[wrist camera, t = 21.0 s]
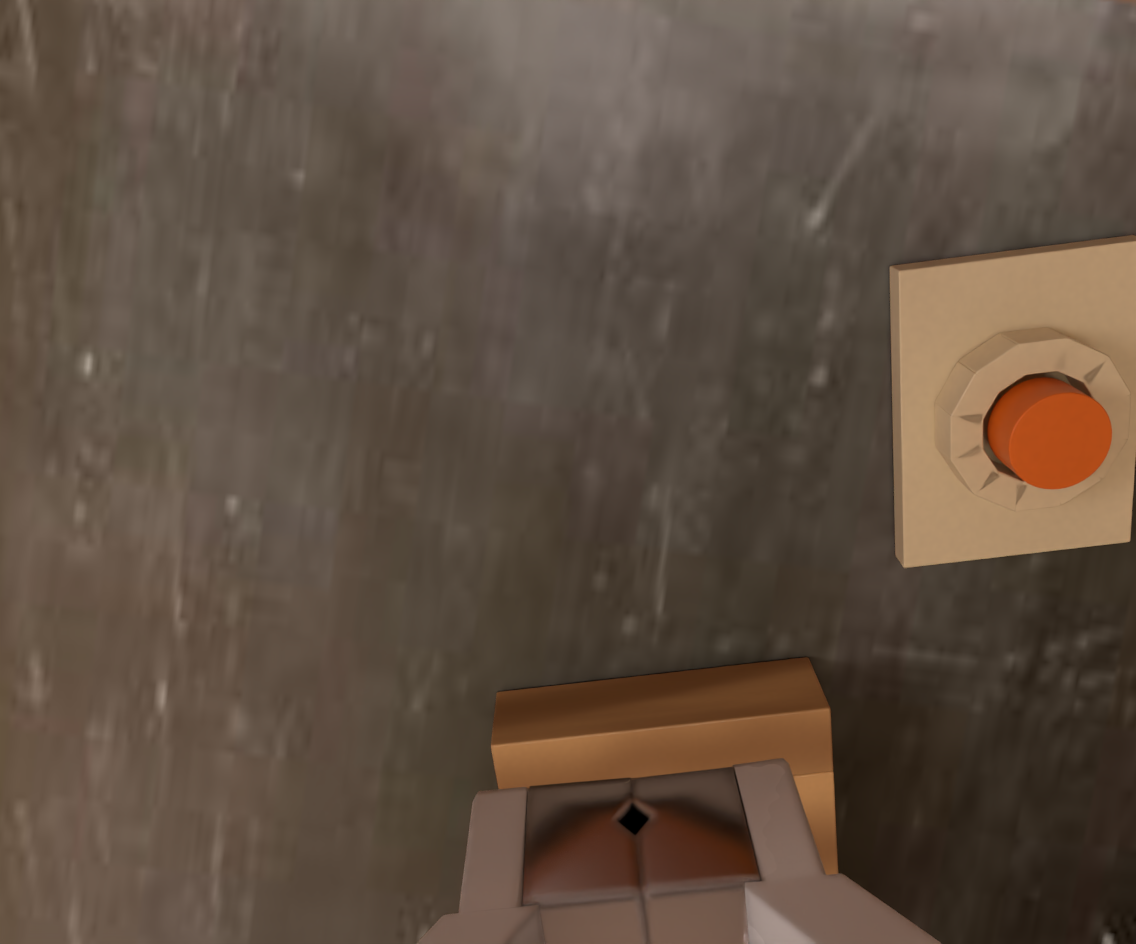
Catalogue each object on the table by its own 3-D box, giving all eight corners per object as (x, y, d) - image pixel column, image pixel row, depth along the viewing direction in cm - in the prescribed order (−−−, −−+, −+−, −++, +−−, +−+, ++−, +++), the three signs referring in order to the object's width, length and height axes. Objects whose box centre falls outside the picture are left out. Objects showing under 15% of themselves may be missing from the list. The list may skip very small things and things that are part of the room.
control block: (889, 265, 39) (914, 279, 36) (1133, 234, 39) (1178, 246, 36) (894, 555, 43) (917, 588, 40) (1115, 530, 43) (1154, 561, 40)
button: (987, 383, 38) (1009, 399, 36) (1087, 371, 38) (1115, 386, 36) (986, 475, 39) (1007, 495, 37) (1083, 464, 39) (1110, 483, 37)
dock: (496, 691, 45) (490, 745, 42) (808, 656, 45) (830, 708, 41) (538, 934, 50) (536, 1003, 46) (822, 904, 49) (843, 972, 46)
